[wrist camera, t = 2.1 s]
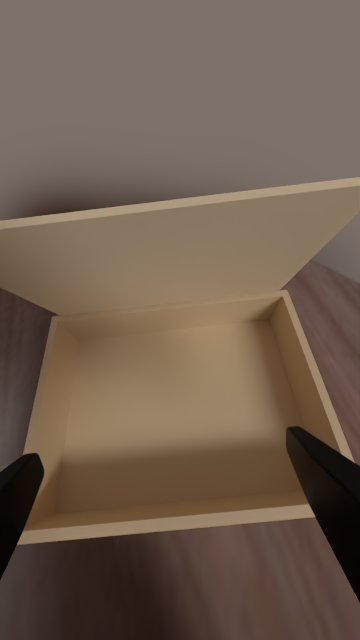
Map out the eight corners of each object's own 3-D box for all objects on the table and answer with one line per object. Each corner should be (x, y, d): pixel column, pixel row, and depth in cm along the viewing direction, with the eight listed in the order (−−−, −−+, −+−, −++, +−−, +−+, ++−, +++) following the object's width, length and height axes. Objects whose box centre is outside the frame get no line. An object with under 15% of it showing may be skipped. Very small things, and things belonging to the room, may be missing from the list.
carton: (330, 495, 18) (373, 511, 13) (50, 522, 18) (3, 546, 14) (271, 315, 26) (286, 289, 21) (77, 337, 26) (52, 315, 22)
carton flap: (389, 181, 9) (386, 173, 9) (-99, 241, 10) (-97, 232, 10) (278, 291, 21) (277, 287, 21) (60, 315, 21) (60, 311, 21)
